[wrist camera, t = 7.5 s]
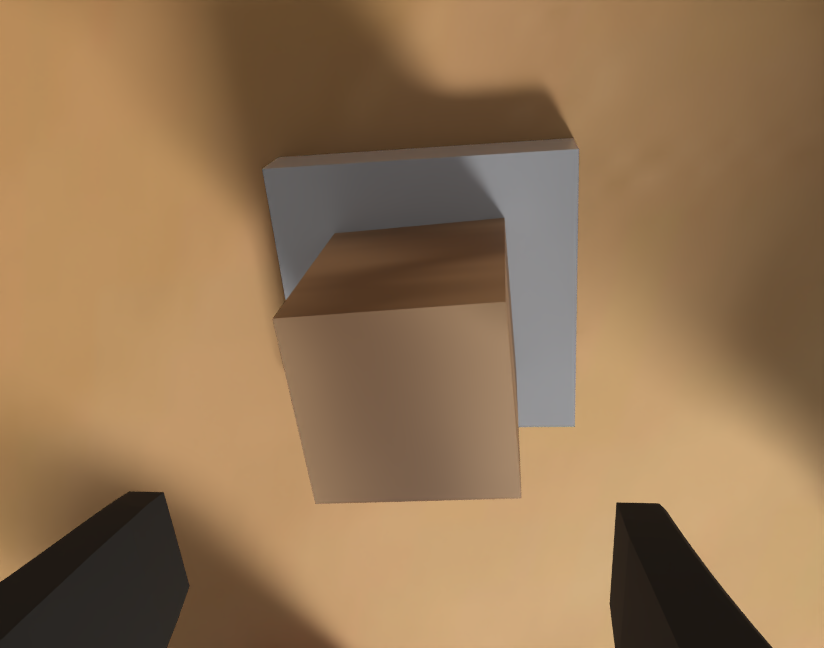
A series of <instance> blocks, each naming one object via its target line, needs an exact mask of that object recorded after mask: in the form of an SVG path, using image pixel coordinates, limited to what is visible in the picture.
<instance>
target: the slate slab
mask: <svg viewBox="0 0 824 648" xmlns="http://www.w3.org/2000/svg"><path fill="white" fill-rule="evenodd" d="M262 171H263V176H264V182H265V187H266V193H267V199H268V204H269V210H270V215H271V221H272V227H273V232H274V238H275V243H276V249H277V255H278V260H279V266H280V271H281V277H282V283H283V288H284V294H285V299H287V298H288V297H289V295H290V294H291V293H292V291H293V290H294V288H295V287H296V286H297V284H298V283H299V282H300V280H301V279H302V277H303V276H304V275H305V273H306V272H307V270H308V269H309V268H310V266H311V265H312V264H313V262H314V261H315V259H316V258H317V257H318V255H319V254H320V253H321V251H322V250H323V248H324V247H325V246H326V244H327V243H328V242H329V240H330V239H331V237H332V236H333V235H334V233H344V232H355V231H366V230H377V229H388V228H399V227H409V226H420V225H431V224H442V223H453V222H464V221H474V220H485V219H496V218H505V230H506V243H507V256H508V269H509V282H510V296H511V309H512V322H513V335H514V348H515V361H516V376H517V401H518V426H519V427H575V379H576V314H577V248H578V183H579V148H578V146H577V144H576V142H575V140H574V138H564V139H548V140H533V141H518V142H503V143H487V144H472V145H457V146H441V147H426V148H411V149H395V150H380V151H365V152H349V153H334V154H319V155H303V156H288V157H278V158H276V159H275V160H274V161H272V162H271V163H270V164H268V165H267V166H265V167H264V168H263V169H262Z"/></svg>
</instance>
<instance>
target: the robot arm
mask: <svg viewBox="0 0 824 648" xmlns="http://www.w3.org/2000/svg"><path fill="white" fill-rule="evenodd" d="M188 589H189V582H188V579H187V575H186V572H185V568H184V564H183V561H182V557H181V553H180V550H179V546H178V543H177V539H176V535H175V532H174V528H173V524H172V521H171V517H170V514H169V510H168V506H167V503H166V499H165V496H164V492H128V493H126V494H125V495H123V496H121V497H120V498H118V499H117V500H115V501H114V502H112V503H111V504H109V505H108V506H106V507H105V508H103V509H102V510H101V511H99V512H98V513H96V514H95V515H94V516H92V517H91V518H89V519H88V520H87V521H85V522H84V523H82V524H81V525H80V526H78V527H77V528H75V529H74V530H73V531H71V532H70V533H69V534H67V535H66V536H64V537H63V538H62V539H60V540H59V541H57V542H56V543H55V544H53V545H52V546H51V547H49V548H48V549H46V550H45V551H44V552H42V553H41V554H39V555H38V556H37V557H35V558H34V559H32V560H31V561H30V562H28V563H27V564H25V565H24V566H23V567H21V568H20V569H18V570H17V571H16V572H14V573H13V574H11V575H10V576H9V577H7V578H6V579H4V580H3V581H1V582H0V648H167V646H168V643H169V641H170V638H171V636H172V633H173V630H174V628H175V625H176V623H177V620H178V617H179V614H180V612H181V609H182V606H183V603H184V600H185V597H186V594H187V592H188ZM610 610H611V618H612V627H613V635H614V643H615V648H772V647H771V645H770V644H769V643H768V642H767V641H766V640H765V639H764V637H763V636H762V635H761V634H760V633H759V632H758V630H757V629H756V628H755V627H754V626H753V624H752V623H751V622H750V621H749V620H748V618H747V617H746V616H745V615H744V613H743V612H742V611H741V610H740V609H739V607H738V606H737V605H736V604H735V603H734V601H733V600H732V599H731V598H730V596H729V595H728V594H727V593H726V592H725V590H724V589H723V588H722V586H721V585H720V584H719V583H718V581H717V580H716V579H715V578H714V576H713V575H712V574H711V572H710V571H709V570H708V568H707V567H706V566H705V564H704V563H703V562H702V560H701V559H700V558H699V556H698V555H697V554H696V552H695V551H694V550H693V548H692V547H691V545H690V544H689V543H688V541H687V540H686V538H685V537H684V536H683V534H682V533H681V531H680V530H679V529H678V527H677V526H676V524H675V523H674V521H673V520H672V518H671V517H670V515H669V514H668V512H667V511H666V510H665V509H664V508H663V507H662V506H661V505H660V504H656V503H617V504H616V519H615V534H614V548H613V563H612V578H611V593H610Z"/></svg>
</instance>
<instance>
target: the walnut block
mask: <svg viewBox="0 0 824 648" xmlns="http://www.w3.org/2000/svg"><path fill="white" fill-rule="evenodd" d="M273 323H274V327H275V332H276V336H277V340H278V345H279V349H280V353H281V357H282V362H283V366H284V370H285V375H286V379H287V383H288V388H289V392H290V396H291V401H292V405H293V409H294V414H295V418H296V422H297V426H298V431H299V435H300V439H301V444H302V448H303V452H304V457H305V461H306V465H307V470H308V474H309V478H310V483H311V487H312V491H313V496H314V500H315V504H329V503H366V502H402V501H439V500H475V499H512V498H521V476H520V451H519V426H518V401H517V376H516V361H515V348H514V335H513V322H512V309H511V296H510V282H509V269H508V256H507V243H506V230H505V218H496V219H485V220H474V221H464V222H453V223H442V224H431V225H420V226H409V227H399V228H388V229H377V230H366V231H355V232H344V233H334V235H333V236H332V237H331V239H330V240H329V242H328V243H327V244H326V246H325V247H324V248H323V250H322V251H321V253H320V254H319V255H318V257H317V258H316V259H315V261H314V262H313V264H312V265H311V266H310V268H309V269H308V270H307V272H306V273H305V275H304V276H303V277H302V279H301V280H300V282H299V283H298V284H297V286H296V287H295V288H294V290H293V291H292V293H291V294H290V295H289V297H288V298H287V299H286V301H285V302H284V304H283V305H282V306H281V308H280V309H279V310H278V312H277V313H276V315H275V316H274V317H273Z"/></svg>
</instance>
